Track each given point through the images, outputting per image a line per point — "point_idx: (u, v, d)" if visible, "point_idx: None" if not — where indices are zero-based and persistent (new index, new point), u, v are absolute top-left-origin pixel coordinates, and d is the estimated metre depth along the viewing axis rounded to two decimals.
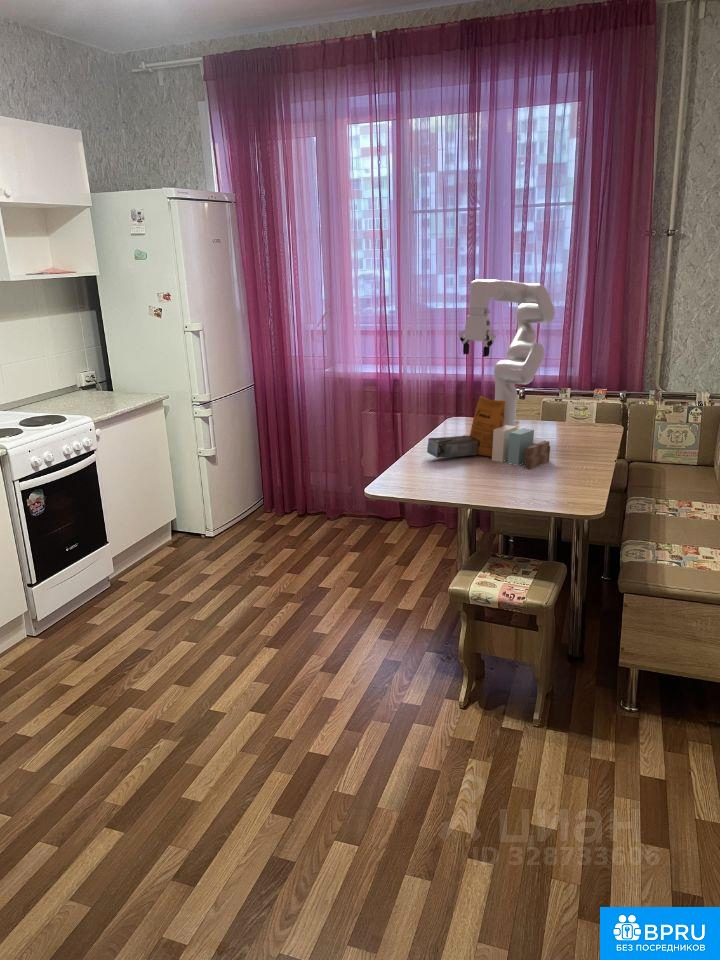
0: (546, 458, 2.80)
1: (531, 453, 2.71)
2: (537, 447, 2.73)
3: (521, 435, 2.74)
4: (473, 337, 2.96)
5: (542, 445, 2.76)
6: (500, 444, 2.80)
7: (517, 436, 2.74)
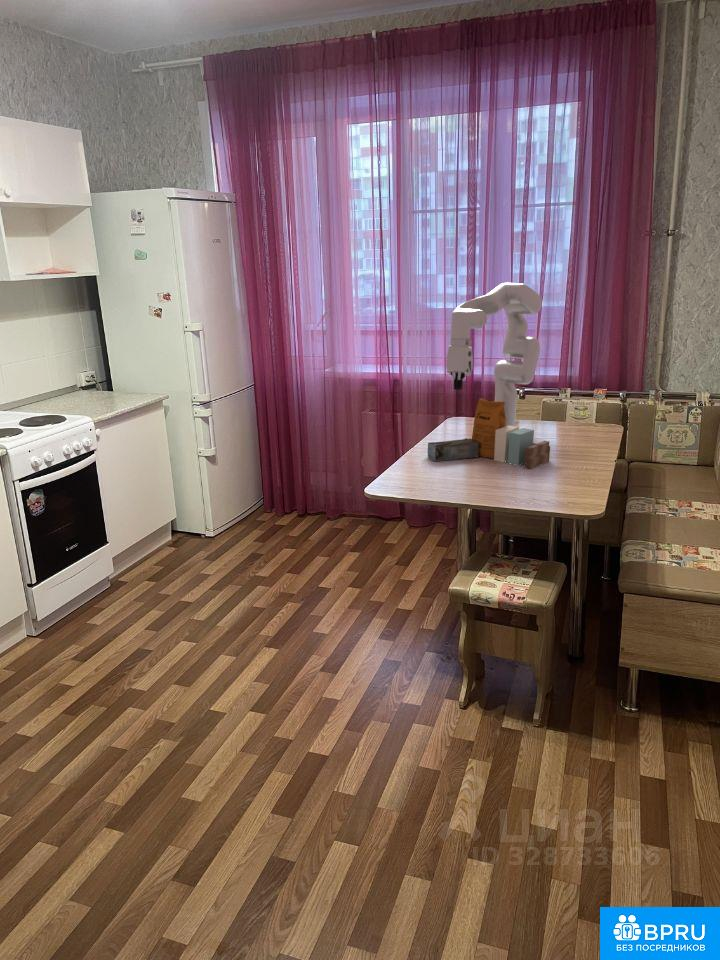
0: (546, 458, 2.80)
1: (531, 453, 2.71)
2: (537, 447, 2.73)
3: (521, 435, 2.74)
4: (455, 368, 2.90)
5: (542, 445, 2.76)
6: (502, 445, 2.80)
7: (517, 436, 2.74)
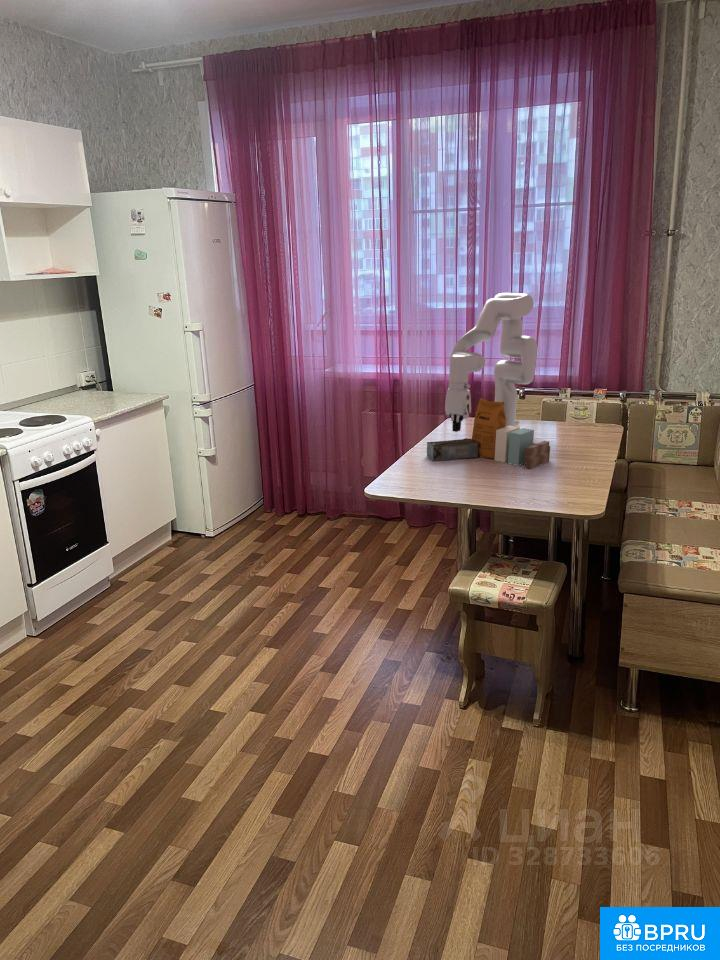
0: (546, 458, 2.80)
1: (531, 453, 2.71)
2: (537, 447, 2.73)
3: (521, 435, 2.74)
4: (453, 411, 2.95)
5: (542, 445, 2.76)
6: (502, 445, 2.80)
7: (517, 436, 2.74)
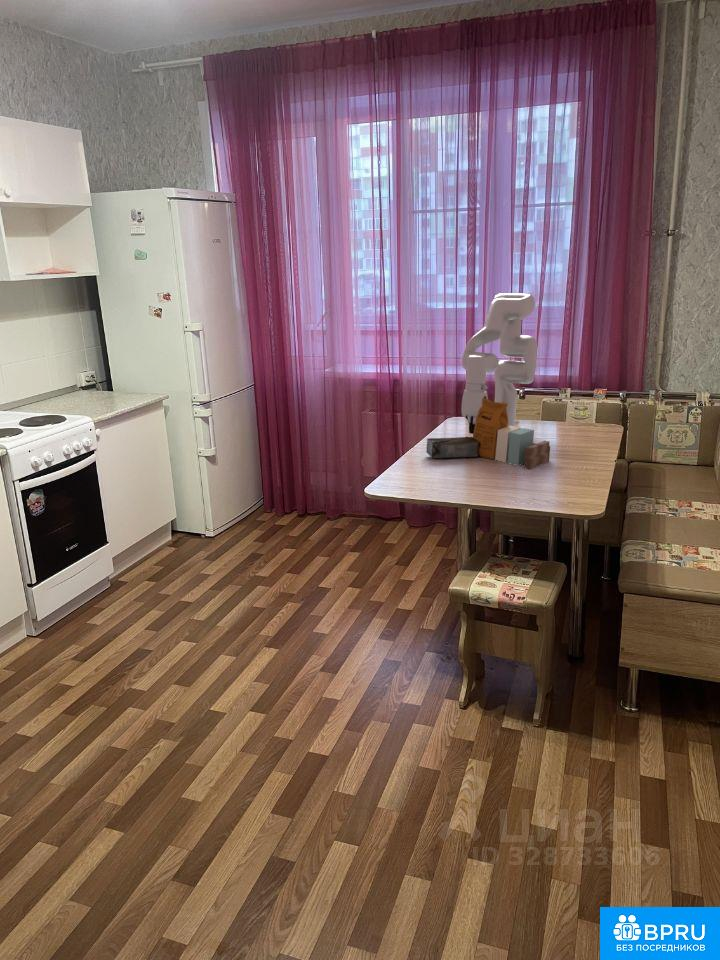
0: (546, 458, 2.80)
1: (531, 453, 2.71)
2: (537, 447, 2.73)
3: (521, 435, 2.74)
4: (470, 412, 2.89)
5: (542, 445, 2.76)
6: (503, 445, 2.79)
7: (517, 436, 2.74)
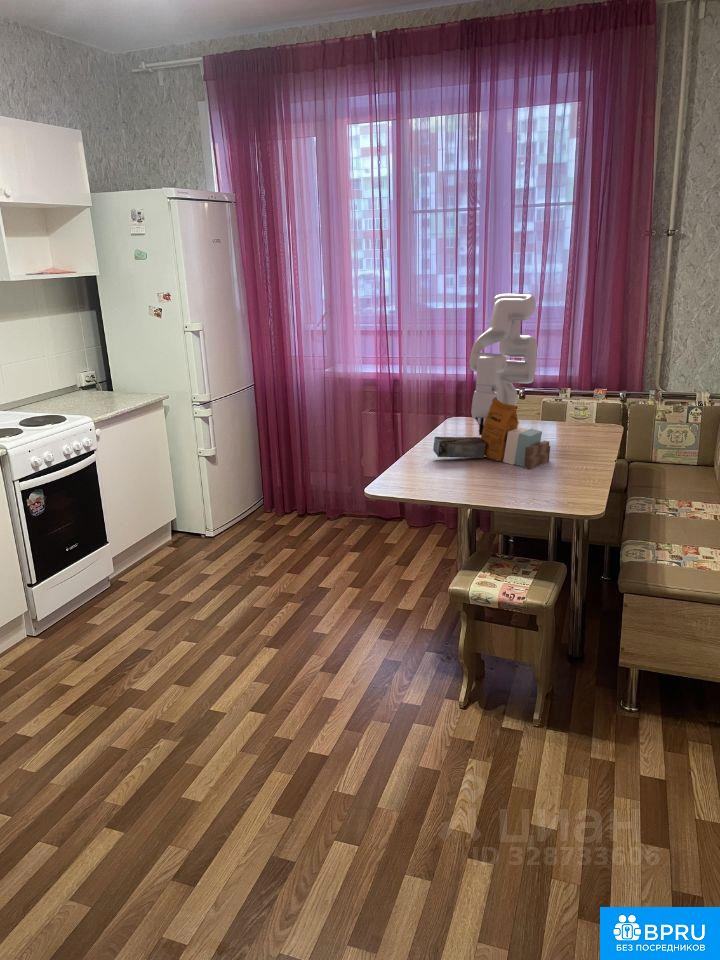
0: (546, 458, 2.80)
1: (531, 453, 2.71)
2: (537, 447, 2.73)
3: (531, 437, 2.71)
4: (480, 414, 2.86)
5: (542, 445, 2.76)
6: (513, 447, 2.76)
7: (527, 438, 2.72)
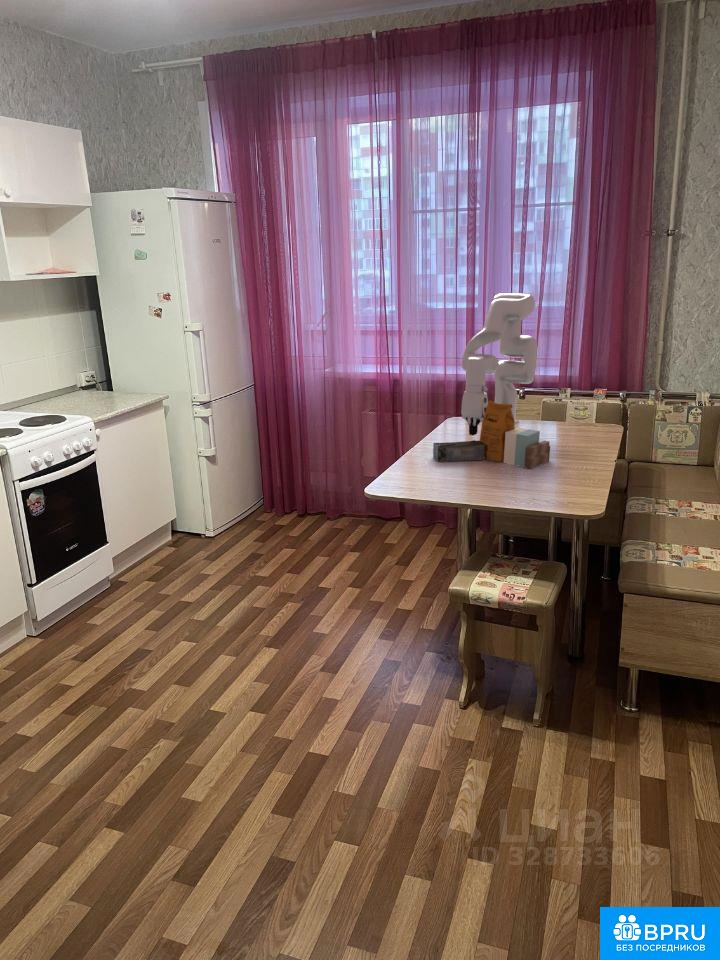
0: (546, 458, 2.80)
1: (531, 453, 2.71)
2: (537, 447, 2.73)
3: (528, 436, 2.72)
4: (470, 414, 2.90)
5: (542, 445, 2.76)
6: (512, 447, 2.76)
7: (525, 438, 2.72)
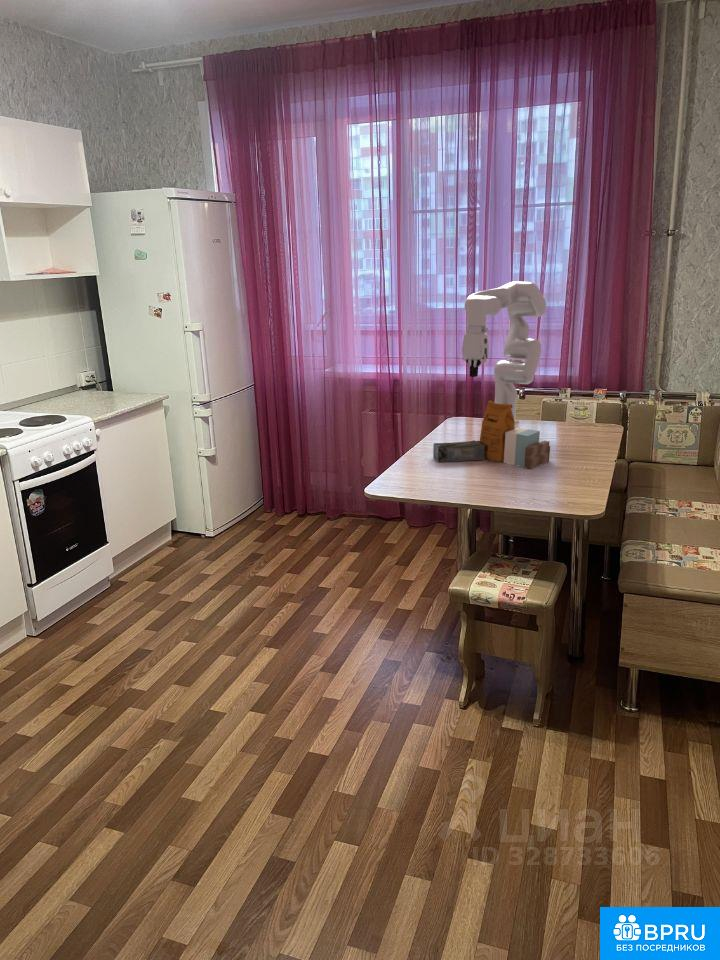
0: (546, 458, 2.80)
1: (531, 453, 2.71)
2: (537, 447, 2.73)
3: (528, 436, 2.72)
4: (471, 355, 2.91)
5: (542, 445, 2.76)
6: (512, 447, 2.76)
7: (525, 438, 2.72)
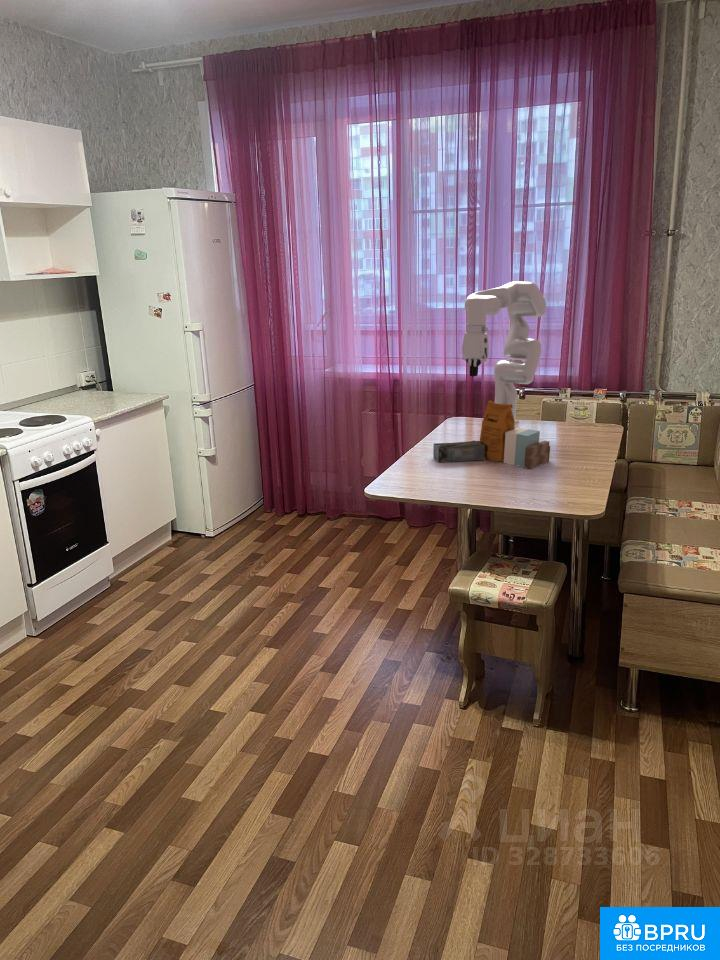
0: (546, 458, 2.80)
1: (531, 453, 2.71)
2: (537, 447, 2.73)
3: (528, 436, 2.72)
4: (471, 355, 2.91)
5: (542, 445, 2.76)
6: (512, 447, 2.76)
7: (525, 438, 2.72)
